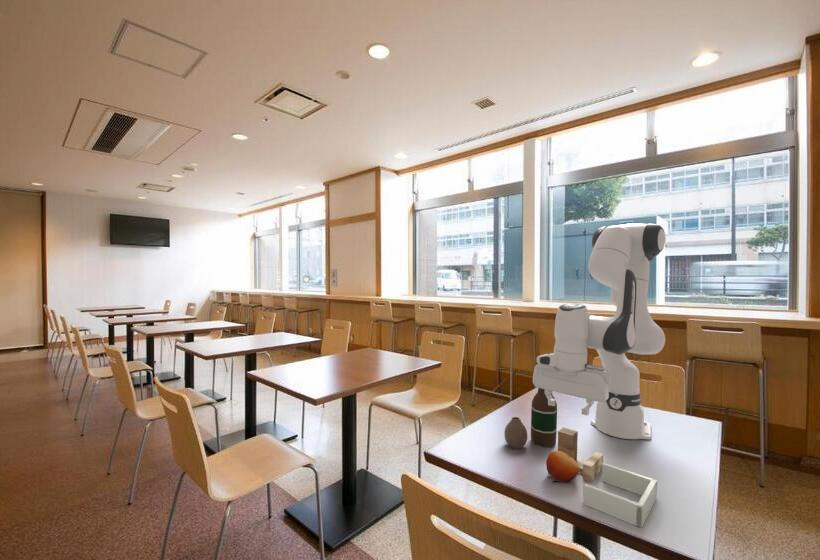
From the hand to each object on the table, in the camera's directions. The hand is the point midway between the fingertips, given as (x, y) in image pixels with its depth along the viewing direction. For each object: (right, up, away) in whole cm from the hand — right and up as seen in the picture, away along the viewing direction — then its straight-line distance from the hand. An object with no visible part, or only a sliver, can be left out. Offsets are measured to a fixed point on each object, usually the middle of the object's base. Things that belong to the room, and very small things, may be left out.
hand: (567, 409), depth 108 cm
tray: (+5, -16, -17) cm, 24 cm away
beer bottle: (-2, -16, +15) cm, 21 cm away
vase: (-12, -16, +11) cm, 23 cm away
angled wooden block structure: (+2, -16, -2) cm, 16 cm away
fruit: (-5, -16, -7) cm, 18 cm away
